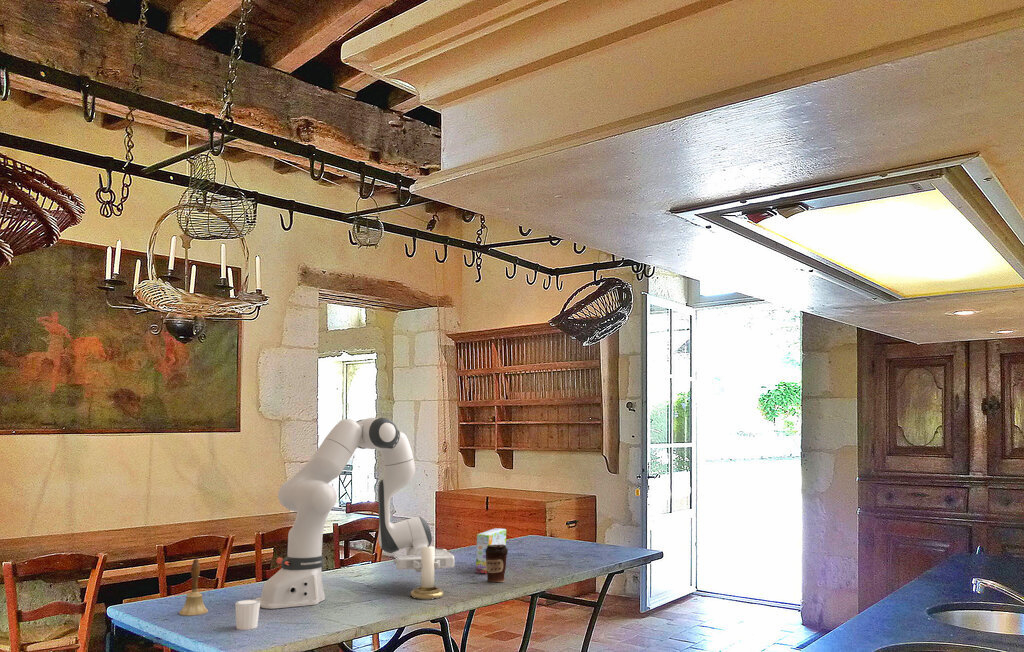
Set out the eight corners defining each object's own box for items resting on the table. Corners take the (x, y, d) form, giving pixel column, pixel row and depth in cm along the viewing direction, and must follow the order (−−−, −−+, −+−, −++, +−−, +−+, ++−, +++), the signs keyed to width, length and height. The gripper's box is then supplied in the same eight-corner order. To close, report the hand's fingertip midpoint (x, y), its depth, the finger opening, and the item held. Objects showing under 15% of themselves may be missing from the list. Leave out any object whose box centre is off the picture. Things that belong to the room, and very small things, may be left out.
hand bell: (207, 615, 243) (209, 560, 245) (177, 616, 240) (180, 562, 242) (209, 608, 251) (211, 556, 253) (180, 610, 248) (183, 557, 250)
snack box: (488, 574, 310) (489, 534, 312) (475, 573, 312) (475, 534, 313) (506, 565, 330) (506, 528, 332) (493, 564, 332) (494, 527, 333)
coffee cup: (504, 584, 291) (505, 547, 293) (482, 583, 293) (482, 546, 294) (509, 579, 300) (509, 544, 301) (488, 578, 301) (488, 543, 303)
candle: (425, 588, 268) (426, 546, 269) (418, 586, 271) (419, 544, 273) (436, 586, 270) (437, 544, 272) (429, 584, 274) (430, 543, 275)
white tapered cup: (228, 628, 226) (230, 603, 227) (245, 623, 233) (246, 598, 234) (248, 631, 224) (249, 605, 225) (264, 625, 230) (265, 600, 231)
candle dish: (421, 601, 263) (421, 593, 263) (404, 595, 271) (405, 587, 272) (449, 596, 269) (450, 589, 270) (432, 591, 278) (432, 584, 278)
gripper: (392, 550, 282) (397, 557, 268) (450, 548, 287) (457, 554, 274) (392, 569, 281) (397, 576, 268) (450, 566, 286) (457, 573, 273)
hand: (428, 565), depth 271 cm, fingers closed on candle, 4 cm apart
